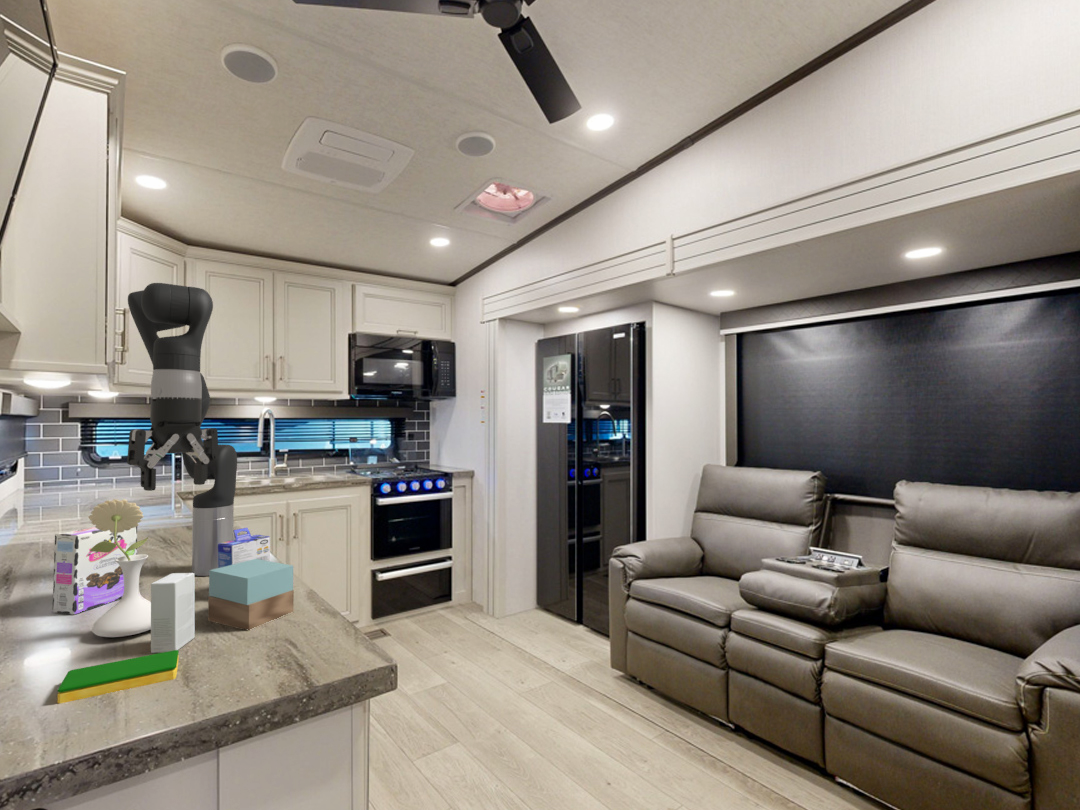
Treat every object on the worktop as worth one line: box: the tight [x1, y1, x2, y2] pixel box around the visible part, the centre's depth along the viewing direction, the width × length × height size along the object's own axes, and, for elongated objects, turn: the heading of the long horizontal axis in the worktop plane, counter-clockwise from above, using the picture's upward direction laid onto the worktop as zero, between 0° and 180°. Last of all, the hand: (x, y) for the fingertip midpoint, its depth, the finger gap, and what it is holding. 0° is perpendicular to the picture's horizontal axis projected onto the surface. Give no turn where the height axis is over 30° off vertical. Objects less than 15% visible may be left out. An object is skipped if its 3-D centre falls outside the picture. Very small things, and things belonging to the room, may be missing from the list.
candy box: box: [52, 526, 138, 615], centre depth 116 cm, size 14×6×16 cm, turn 168°
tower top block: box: [208, 559, 294, 605], centre depth 108 cm, size 10×12×5 cm
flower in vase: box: [88, 498, 151, 638], centre depth 101 cm, size 13×11×25 cm
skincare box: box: [150, 572, 196, 654], centre depth 94 cm, size 6×4×12 cm
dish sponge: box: [57, 649, 180, 704], centre depth 81 cm, size 7×14×2 cm, turn 121°
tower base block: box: [207, 589, 295, 631], centre depth 108 cm, size 10×12×5 cm
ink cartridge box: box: [218, 527, 271, 568], centre depth 123 cm, size 10×6×14 cm, turn 155°
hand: (175, 487), depth 95 cm, fingers open, 8 cm apart
